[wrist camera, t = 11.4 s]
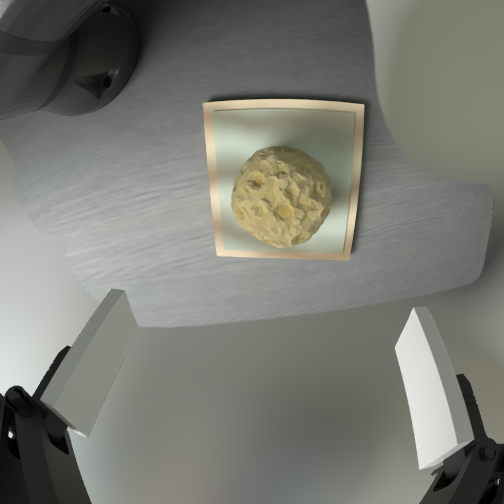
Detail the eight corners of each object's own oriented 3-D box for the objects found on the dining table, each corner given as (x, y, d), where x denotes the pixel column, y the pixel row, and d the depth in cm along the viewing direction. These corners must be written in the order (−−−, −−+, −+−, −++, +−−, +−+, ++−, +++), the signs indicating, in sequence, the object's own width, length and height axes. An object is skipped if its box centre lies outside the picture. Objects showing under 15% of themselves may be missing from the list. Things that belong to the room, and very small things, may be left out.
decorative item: (320, 197, 32) (374, 183, 23) (272, 263, 31) (317, 273, 21) (260, 142, 30) (298, 106, 20) (204, 208, 29) (221, 192, 19)
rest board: (206, 102, 26) (202, 102, 25) (361, 104, 24) (364, 104, 23) (219, 250, 35) (216, 256, 34) (347, 255, 33) (349, 261, 32)
